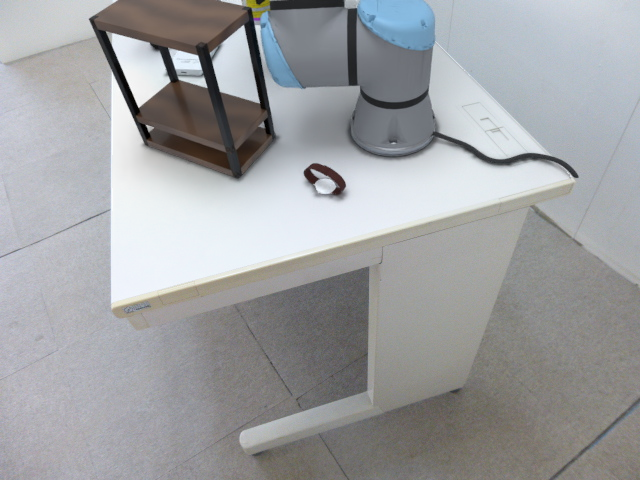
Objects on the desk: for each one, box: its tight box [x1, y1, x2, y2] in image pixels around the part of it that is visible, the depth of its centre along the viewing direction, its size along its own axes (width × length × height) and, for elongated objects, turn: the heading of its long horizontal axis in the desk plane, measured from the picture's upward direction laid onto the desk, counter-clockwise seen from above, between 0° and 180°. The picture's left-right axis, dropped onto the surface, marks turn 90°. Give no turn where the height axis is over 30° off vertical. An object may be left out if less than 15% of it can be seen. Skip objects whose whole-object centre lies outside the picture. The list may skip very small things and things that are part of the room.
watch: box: [303, 162, 347, 196], centre depth 82 cm, size 8×5×4 cm
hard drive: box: [165, 45, 220, 77], centre depth 112 cm, size 2×8×12 cm
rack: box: [88, 0, 277, 180], centre depth 84 cm, size 12×22×24 cm, turn 60°
